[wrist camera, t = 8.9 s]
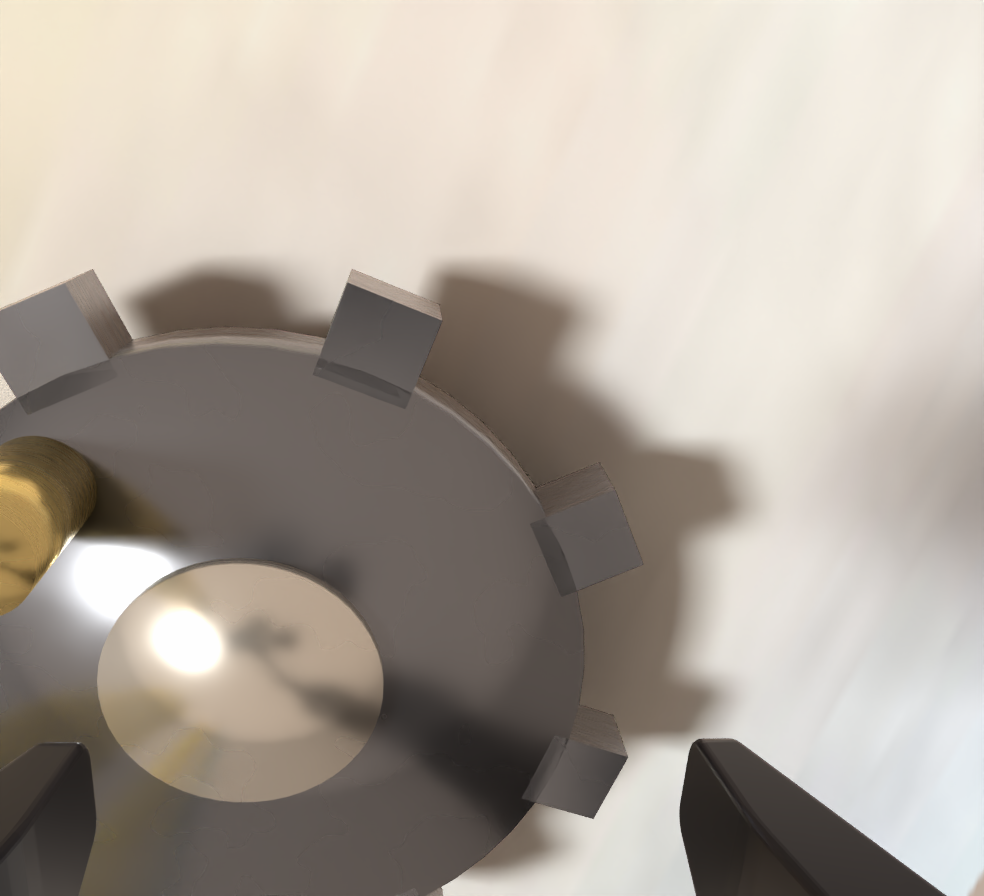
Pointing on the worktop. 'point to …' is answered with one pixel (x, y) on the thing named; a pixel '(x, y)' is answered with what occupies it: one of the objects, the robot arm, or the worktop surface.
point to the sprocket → (289, 601)
